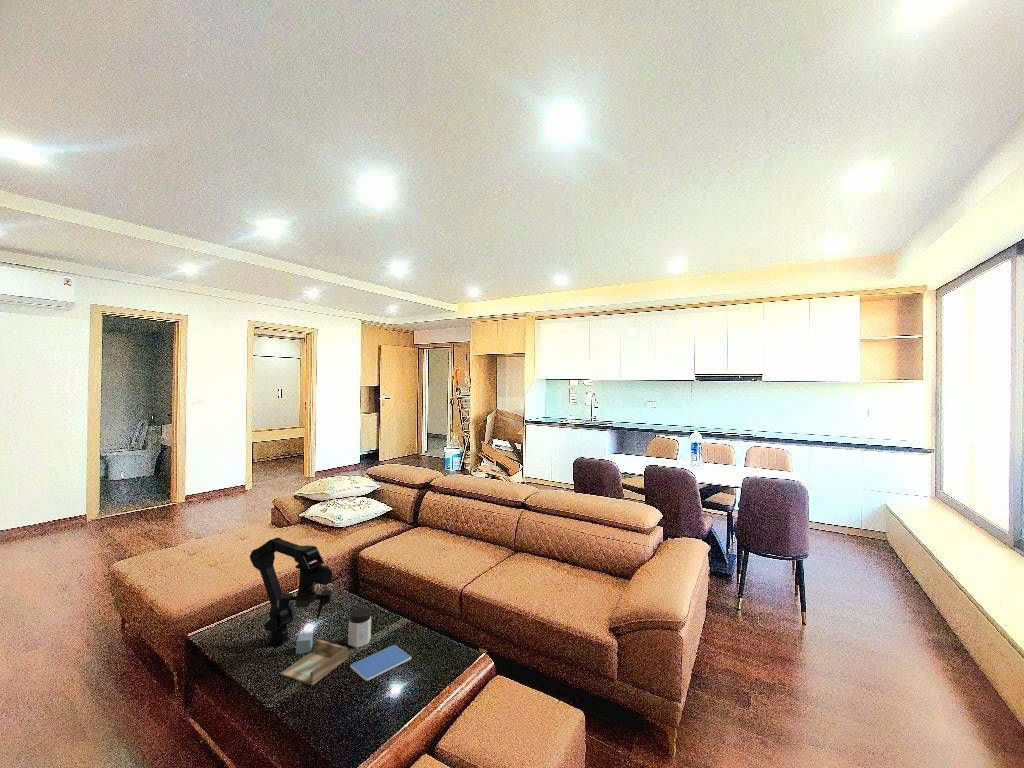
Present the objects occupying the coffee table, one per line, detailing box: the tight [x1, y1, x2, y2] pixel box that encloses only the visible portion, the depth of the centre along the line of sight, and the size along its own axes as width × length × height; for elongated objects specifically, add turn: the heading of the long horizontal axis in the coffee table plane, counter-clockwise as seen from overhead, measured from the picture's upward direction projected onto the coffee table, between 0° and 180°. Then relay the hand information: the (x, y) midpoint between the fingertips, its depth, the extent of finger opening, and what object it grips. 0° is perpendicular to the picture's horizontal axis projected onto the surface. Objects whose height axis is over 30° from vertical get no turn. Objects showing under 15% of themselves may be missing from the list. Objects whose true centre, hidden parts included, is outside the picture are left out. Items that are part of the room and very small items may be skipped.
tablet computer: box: [349, 644, 412, 682], centre depth 166 cm, size 19×13×1 cm, turn 138°
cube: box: [295, 632, 314, 655], centre depth 173 cm, size 5×5×5 cm
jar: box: [347, 607, 372, 648], centre depth 179 cm, size 9×8×12 cm
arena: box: [280, 638, 349, 686], centre depth 163 cm, size 15×17×4 cm
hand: (305, 619), depth 173 cm, fingers open, 9 cm apart
